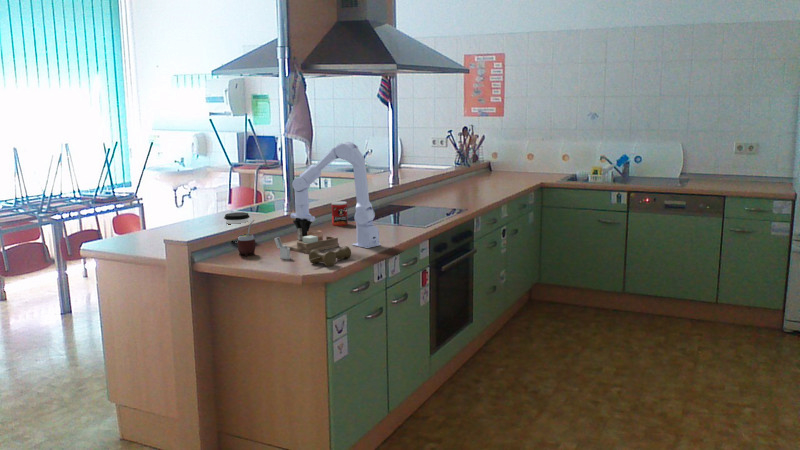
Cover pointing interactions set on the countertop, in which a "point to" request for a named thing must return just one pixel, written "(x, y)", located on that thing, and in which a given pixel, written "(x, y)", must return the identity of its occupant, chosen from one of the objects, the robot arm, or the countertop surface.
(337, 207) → the canned food
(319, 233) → the tethered block
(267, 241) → the countertop surface
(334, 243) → the lane rack
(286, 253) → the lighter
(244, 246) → the mate gourd
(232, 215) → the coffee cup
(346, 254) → the kendama
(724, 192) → the countertop surface
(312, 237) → the block
